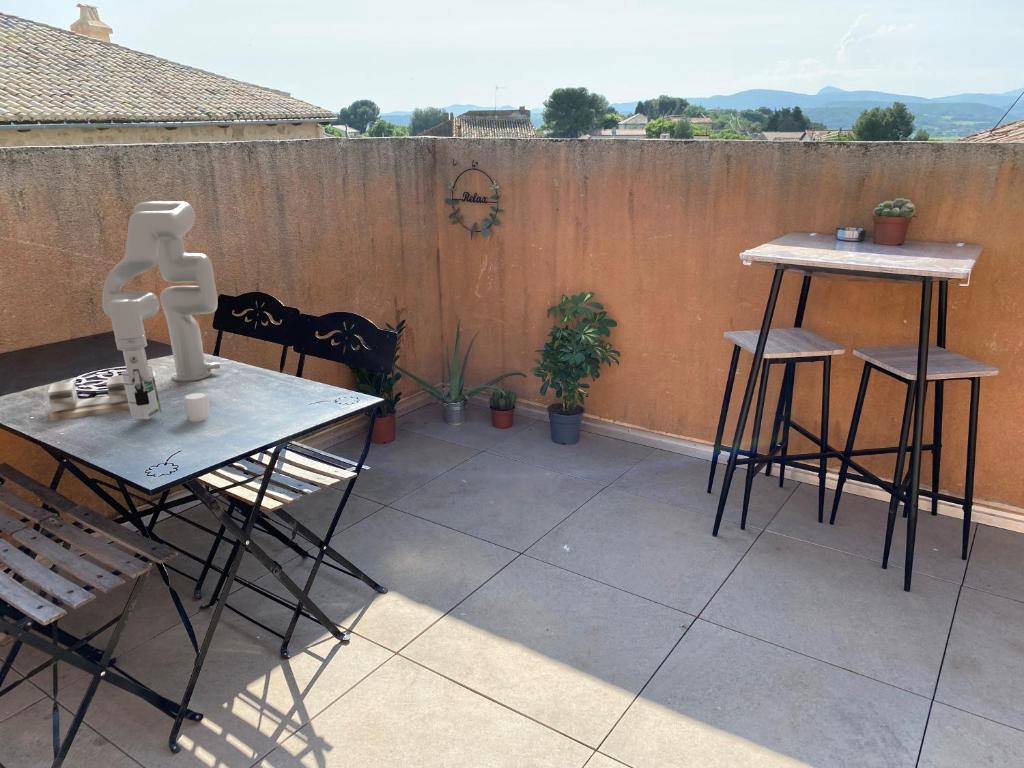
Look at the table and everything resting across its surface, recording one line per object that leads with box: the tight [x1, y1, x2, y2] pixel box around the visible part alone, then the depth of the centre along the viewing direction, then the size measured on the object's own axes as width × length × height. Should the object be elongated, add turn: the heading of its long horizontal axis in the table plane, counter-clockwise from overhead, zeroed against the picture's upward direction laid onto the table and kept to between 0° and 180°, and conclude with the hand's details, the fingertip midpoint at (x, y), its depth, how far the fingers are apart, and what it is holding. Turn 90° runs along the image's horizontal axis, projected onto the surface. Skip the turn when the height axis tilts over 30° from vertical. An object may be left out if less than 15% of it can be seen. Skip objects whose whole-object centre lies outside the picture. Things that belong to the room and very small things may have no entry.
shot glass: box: [182, 391, 211, 422], centre depth 199 cm, size 7×7×7 cm
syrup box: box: [121, 365, 162, 420], centre depth 197 cm, size 6×6×14 cm
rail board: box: [47, 375, 130, 422], centre depth 207 cm, size 22×12×8 cm, turn 116°
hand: (143, 399), depth 197 cm, fingers closed on syrup box, 7 cm apart
